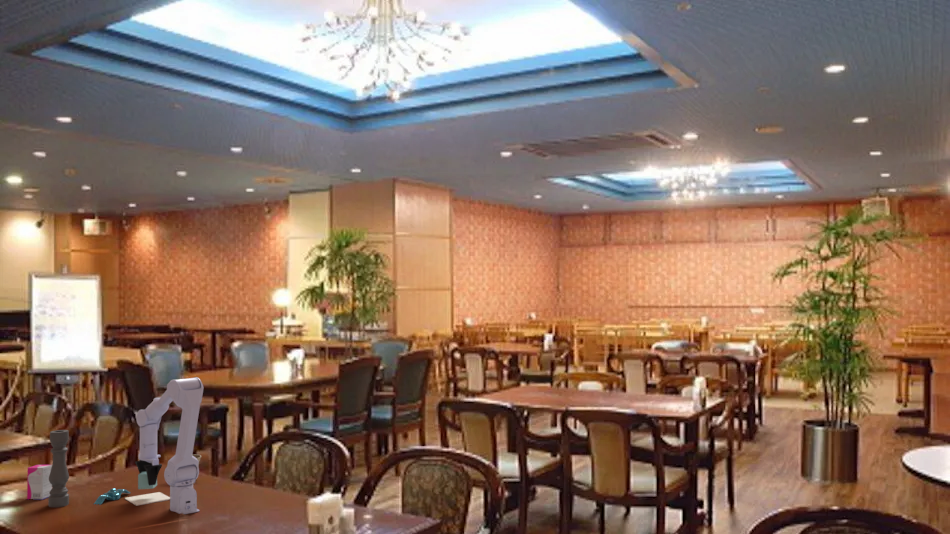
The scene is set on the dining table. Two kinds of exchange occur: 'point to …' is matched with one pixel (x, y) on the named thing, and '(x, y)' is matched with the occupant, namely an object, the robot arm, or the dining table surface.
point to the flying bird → (111, 495)
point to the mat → (148, 498)
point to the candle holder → (59, 469)
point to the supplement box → (38, 482)
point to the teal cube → (144, 481)
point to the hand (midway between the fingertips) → (148, 482)
